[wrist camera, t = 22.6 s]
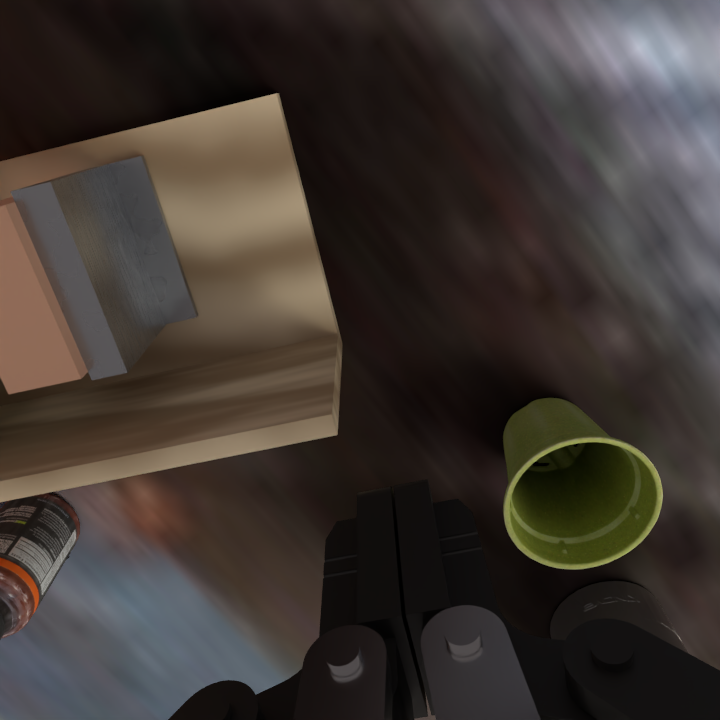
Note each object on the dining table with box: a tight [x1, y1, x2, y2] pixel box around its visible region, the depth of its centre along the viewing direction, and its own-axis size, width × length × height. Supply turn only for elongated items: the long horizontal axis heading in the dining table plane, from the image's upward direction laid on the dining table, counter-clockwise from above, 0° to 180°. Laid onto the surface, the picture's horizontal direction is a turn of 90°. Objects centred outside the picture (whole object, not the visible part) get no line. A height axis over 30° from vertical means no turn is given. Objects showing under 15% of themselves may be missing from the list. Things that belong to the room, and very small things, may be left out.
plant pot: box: [503, 398, 663, 569], centre depth 42 cm, size 9×9×9 cm
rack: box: [0, 93, 343, 502], centre depth 35 cm, size 16×25×12 cm, turn 103°
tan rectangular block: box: [0, 197, 88, 394], centre depth 35 cm, size 4×9×9 cm, turn 13°
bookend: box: [11, 155, 198, 380], centre depth 35 cm, size 10×4×8 cm, turn 13°
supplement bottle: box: [0, 493, 80, 639], centre depth 43 cm, size 6×6×11 cm
